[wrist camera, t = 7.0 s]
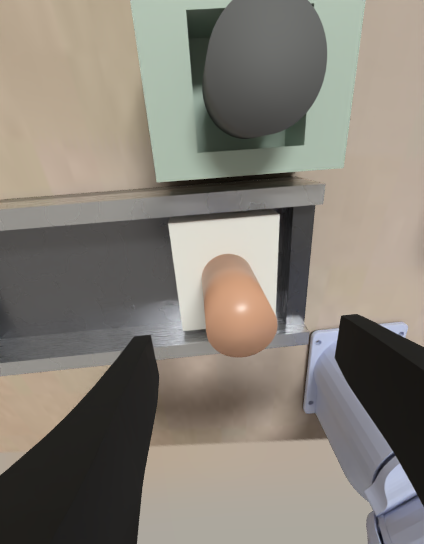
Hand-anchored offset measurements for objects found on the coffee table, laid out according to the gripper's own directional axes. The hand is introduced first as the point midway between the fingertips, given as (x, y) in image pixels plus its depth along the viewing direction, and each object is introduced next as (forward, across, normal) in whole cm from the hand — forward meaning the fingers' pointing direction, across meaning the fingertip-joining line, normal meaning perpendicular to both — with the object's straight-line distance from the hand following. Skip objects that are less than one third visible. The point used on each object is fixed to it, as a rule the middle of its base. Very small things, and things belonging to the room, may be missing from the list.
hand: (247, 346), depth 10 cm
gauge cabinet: (+9, -1, -9) cm, 13 cm away
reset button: (+5, -1, -9) cm, 10 cm away
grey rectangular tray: (+9, +6, 0) cm, 11 cm away
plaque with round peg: (+8, 0, 0) cm, 8 cm away
